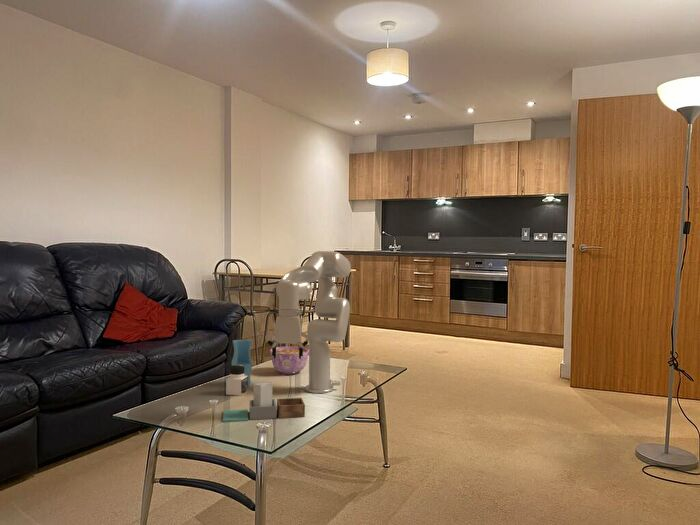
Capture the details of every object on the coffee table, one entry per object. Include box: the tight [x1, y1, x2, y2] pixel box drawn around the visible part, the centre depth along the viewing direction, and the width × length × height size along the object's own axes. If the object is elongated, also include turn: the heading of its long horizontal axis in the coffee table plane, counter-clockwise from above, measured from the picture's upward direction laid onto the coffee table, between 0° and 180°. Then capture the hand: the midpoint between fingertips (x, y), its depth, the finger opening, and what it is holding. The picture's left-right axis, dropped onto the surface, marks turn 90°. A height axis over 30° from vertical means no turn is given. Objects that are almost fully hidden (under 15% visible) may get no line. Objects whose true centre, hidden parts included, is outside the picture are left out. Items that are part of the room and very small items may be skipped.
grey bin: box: [248, 398, 277, 421], centre depth 196 cm, size 10×10×4 cm
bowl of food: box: [269, 346, 309, 375], centre depth 265 cm, size 20×20×12 cm
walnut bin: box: [276, 397, 306, 419], centre depth 199 cm, size 10×10×4 cm
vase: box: [231, 339, 253, 387], centre depth 241 cm, size 8×8×20 cm
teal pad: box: [222, 409, 249, 423], centre depth 194 cm, size 9×12×1 cm
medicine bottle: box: [225, 365, 249, 397], centre depth 226 cm, size 7×7×12 cm
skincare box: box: [252, 380, 273, 407], centre depth 196 cm, size 6×4×12 cm
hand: (287, 358), depth 201 cm, fingers open, 9 cm apart
